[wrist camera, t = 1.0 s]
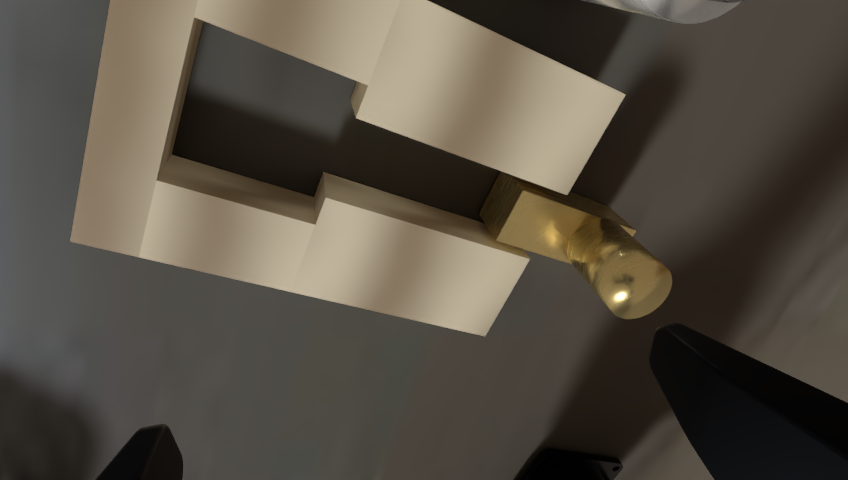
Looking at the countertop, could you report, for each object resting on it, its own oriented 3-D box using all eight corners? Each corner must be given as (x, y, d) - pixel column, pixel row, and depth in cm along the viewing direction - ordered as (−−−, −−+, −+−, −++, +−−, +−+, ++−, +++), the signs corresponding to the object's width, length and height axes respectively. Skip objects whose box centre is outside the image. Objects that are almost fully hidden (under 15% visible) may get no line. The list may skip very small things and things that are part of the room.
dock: (594, 79, 22) (625, 94, 20) (470, 304, 27) (485, 336, 25) (155, -130, 16) (133, -140, 14) (94, 210, 21) (69, 241, 18)
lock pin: (609, 204, 25) (689, 273, 20) (581, 249, 26) (650, 325, 21) (503, 164, 23) (562, 231, 18) (477, 215, 24) (526, 292, 19)
